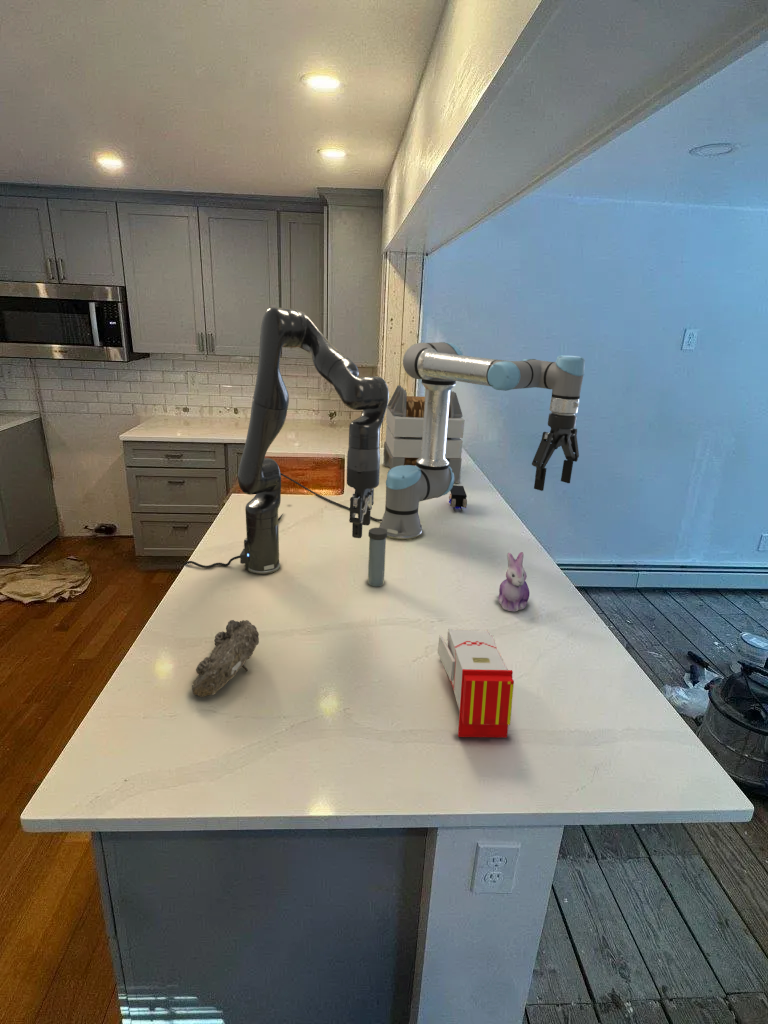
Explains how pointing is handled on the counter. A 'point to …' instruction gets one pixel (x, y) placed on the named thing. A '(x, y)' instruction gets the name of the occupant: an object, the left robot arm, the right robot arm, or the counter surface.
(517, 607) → the figurine
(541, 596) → the counter surface
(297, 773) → the counter surface
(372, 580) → the jar
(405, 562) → the counter surface
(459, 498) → the figurine character
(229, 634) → the fossil
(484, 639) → the toy
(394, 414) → the white wooden crate
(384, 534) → the lid
